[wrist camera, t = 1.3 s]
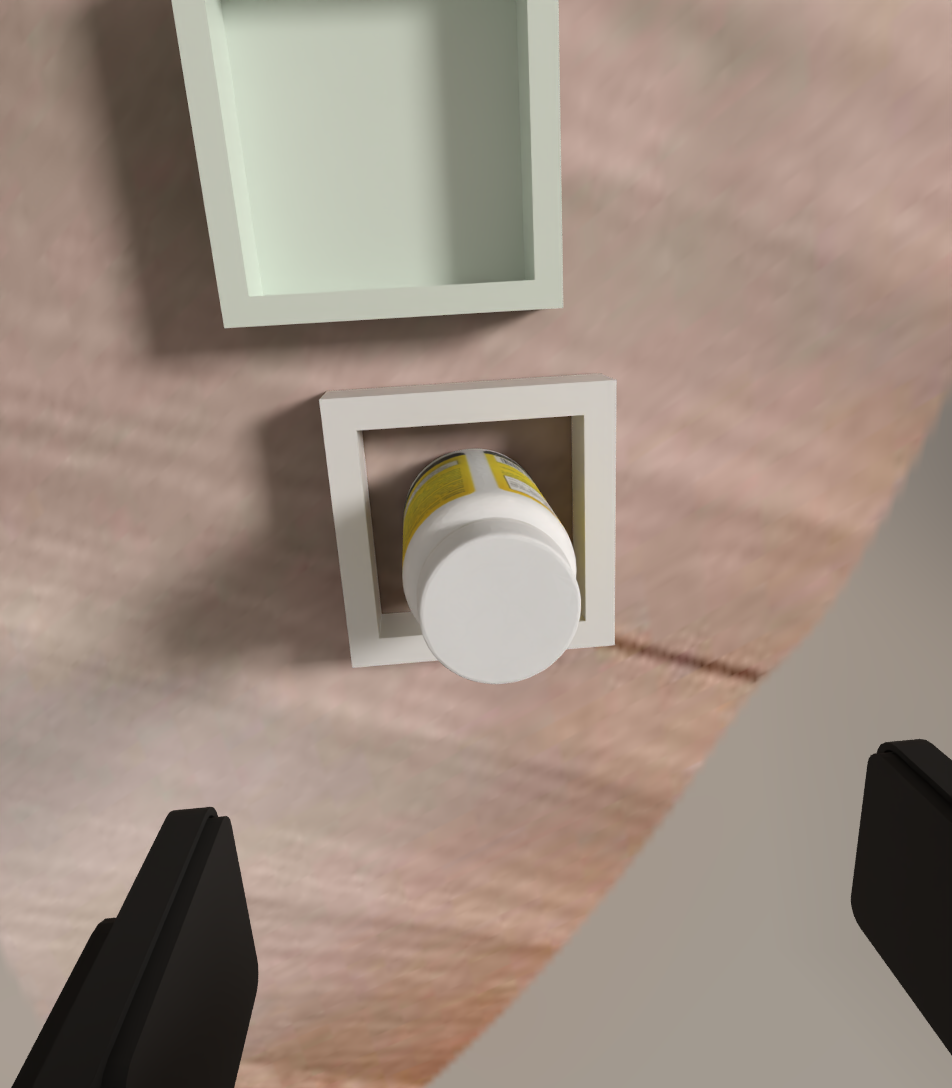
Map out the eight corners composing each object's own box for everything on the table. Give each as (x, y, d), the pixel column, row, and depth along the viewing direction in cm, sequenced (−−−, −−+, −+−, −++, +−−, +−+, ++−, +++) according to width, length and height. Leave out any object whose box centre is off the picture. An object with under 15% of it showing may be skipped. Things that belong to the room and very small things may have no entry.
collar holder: (326, 391, 24) (318, 399, 22) (600, 373, 24) (616, 379, 22) (357, 641, 27) (352, 667, 25) (600, 620, 27) (614, 645, 25)
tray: (187, -47, 20) (156, -93, 17) (540, -58, 20) (556, -104, 18) (244, 324, 23) (224, 328, 21) (548, 306, 23) (563, 307, 21)
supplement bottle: (404, 577, 26) (399, 701, 18) (402, 445, 25) (396, 518, 17) (537, 576, 26) (590, 696, 18) (544, 446, 25) (605, 517, 17)
